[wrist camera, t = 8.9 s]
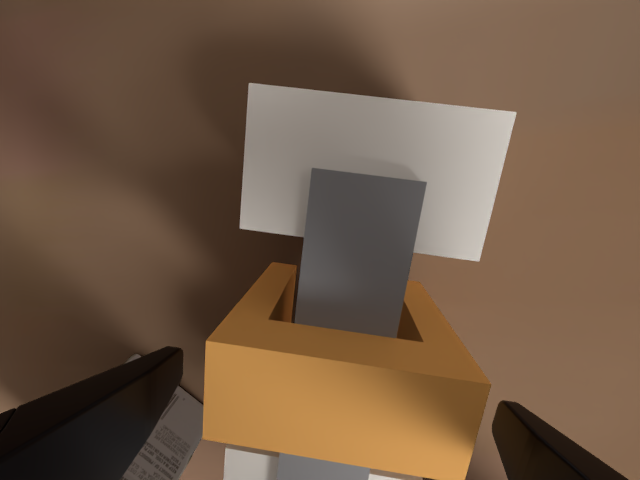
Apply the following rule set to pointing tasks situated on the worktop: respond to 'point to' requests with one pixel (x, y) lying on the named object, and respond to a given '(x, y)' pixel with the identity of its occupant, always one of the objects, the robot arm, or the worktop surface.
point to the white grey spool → (362, 214)
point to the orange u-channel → (343, 385)
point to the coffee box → (169, 440)
